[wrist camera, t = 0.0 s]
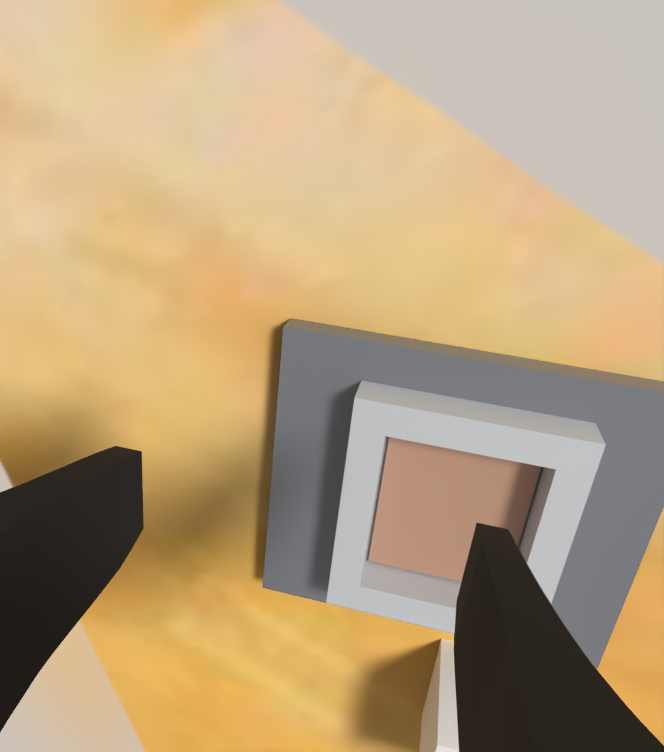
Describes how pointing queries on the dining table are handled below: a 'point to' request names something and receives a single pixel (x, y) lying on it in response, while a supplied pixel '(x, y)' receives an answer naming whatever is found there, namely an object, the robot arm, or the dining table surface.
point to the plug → (441, 705)
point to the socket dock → (457, 476)
